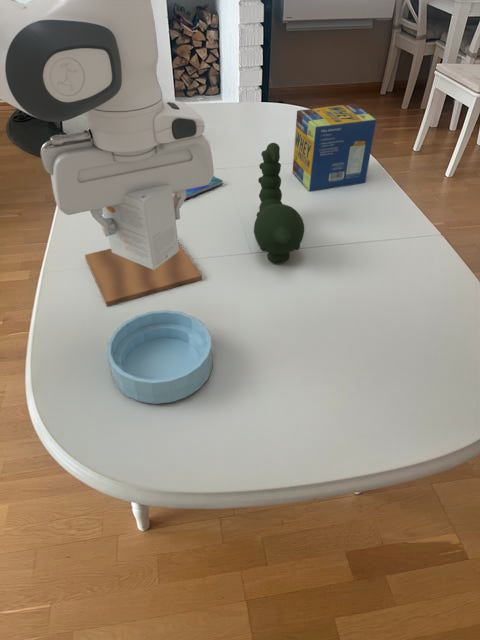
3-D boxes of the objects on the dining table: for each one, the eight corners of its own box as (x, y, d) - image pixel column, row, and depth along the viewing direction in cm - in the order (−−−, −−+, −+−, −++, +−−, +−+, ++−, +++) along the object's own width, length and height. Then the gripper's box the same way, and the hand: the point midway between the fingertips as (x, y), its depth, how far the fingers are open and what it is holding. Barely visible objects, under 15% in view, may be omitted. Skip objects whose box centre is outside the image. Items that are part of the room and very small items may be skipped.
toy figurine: (247, 222, 115) (257, 282, 95) (247, 135, 104) (259, 182, 84) (289, 220, 116) (308, 279, 96) (293, 134, 104) (316, 180, 84)
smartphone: (154, 190, 121) (204, 171, 128) (155, 194, 121) (205, 174, 129) (173, 201, 117) (223, 180, 124) (173, 204, 117) (223, 184, 125)
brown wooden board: (106, 306, 91) (105, 302, 90) (85, 259, 102) (84, 254, 101) (202, 279, 97) (201, 275, 96) (172, 237, 107) (172, 233, 107)
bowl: (129, 420, 72) (123, 396, 69) (101, 350, 83) (95, 327, 79) (228, 384, 77) (227, 361, 74) (190, 323, 88) (188, 300, 84)
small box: (180, 252, 73) (173, 183, 66) (153, 271, 70) (144, 201, 63) (137, 235, 76) (127, 167, 69) (110, 253, 73) (96, 184, 66)
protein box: (291, 173, 130) (295, 110, 119) (347, 164, 133) (356, 102, 123) (308, 192, 122) (314, 126, 112) (366, 182, 126) (378, 118, 116)
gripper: (40, 149, 56) (69, 256, 65) (216, 118, 62) (220, 220, 71) (31, 128, 60) (59, 232, 69) (197, 102, 66) (202, 199, 75)
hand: (142, 225), depth 70 cm, fingers closed on small box, 7 cm apart
